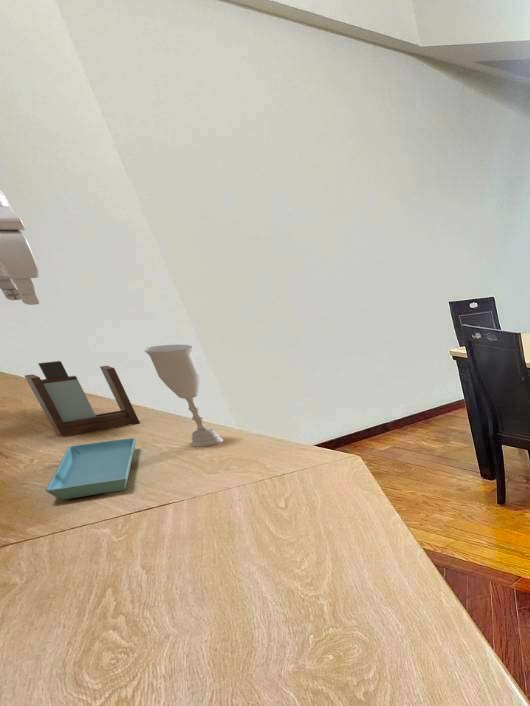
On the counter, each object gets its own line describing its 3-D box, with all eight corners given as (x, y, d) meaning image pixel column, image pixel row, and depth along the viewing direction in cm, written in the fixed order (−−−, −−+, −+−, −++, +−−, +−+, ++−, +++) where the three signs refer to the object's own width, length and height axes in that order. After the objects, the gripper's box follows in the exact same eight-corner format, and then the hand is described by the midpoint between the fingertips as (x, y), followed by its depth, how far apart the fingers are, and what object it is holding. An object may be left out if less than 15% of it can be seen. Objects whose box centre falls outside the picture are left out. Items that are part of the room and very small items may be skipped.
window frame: (62, 437, 116) (30, 378, 111) (55, 433, 118) (24, 375, 112) (140, 423, 125) (114, 367, 120) (133, 420, 127) (107, 365, 121)
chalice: (183, 440, 117) (141, 346, 108) (225, 434, 121) (189, 343, 113) (187, 450, 113) (145, 353, 104) (231, 443, 117) (194, 349, 108)
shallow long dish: (73, 456, 108) (66, 443, 106) (140, 447, 113) (134, 435, 112) (52, 505, 90) (43, 490, 89) (133, 492, 95) (126, 478, 94)
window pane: (65, 426, 117) (32, 364, 111) (62, 425, 118) (30, 363, 112) (98, 420, 121) (68, 360, 115) (96, 419, 121) (66, 360, 115)
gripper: (-66, 214, 105) (-19, 298, 112) (-31, 217, 96) (17, 308, 103) (-13, 215, 110) (28, 296, 116) (24, 218, 101) (66, 305, 108)
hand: (23, 302), depth 110 cm, fingers open, 8 cm apart
